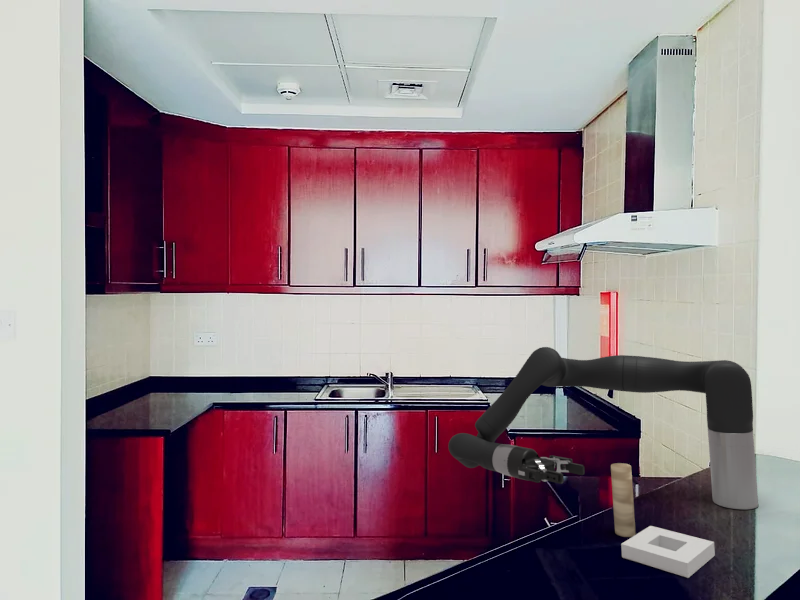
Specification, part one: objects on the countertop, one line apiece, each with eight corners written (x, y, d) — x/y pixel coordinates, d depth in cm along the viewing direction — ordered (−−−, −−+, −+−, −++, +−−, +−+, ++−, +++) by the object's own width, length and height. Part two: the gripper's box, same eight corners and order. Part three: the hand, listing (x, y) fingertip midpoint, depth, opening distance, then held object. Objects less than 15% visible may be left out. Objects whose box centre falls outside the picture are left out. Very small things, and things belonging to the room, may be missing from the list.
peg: (620, 527, 118) (616, 462, 118) (639, 532, 115) (634, 465, 115) (611, 533, 115) (607, 466, 116) (629, 538, 112) (625, 469, 113)
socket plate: (651, 538, 112) (650, 525, 112) (714, 555, 103) (714, 541, 103) (622, 557, 104) (621, 543, 104) (688, 577, 95) (687, 563, 95)
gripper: (496, 451, 132) (554, 464, 120) (532, 441, 141) (589, 451, 129) (497, 483, 132) (556, 499, 119) (533, 470, 141) (591, 483, 129)
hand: (573, 474), depth 124 cm, fingers open, 8 cm apart
